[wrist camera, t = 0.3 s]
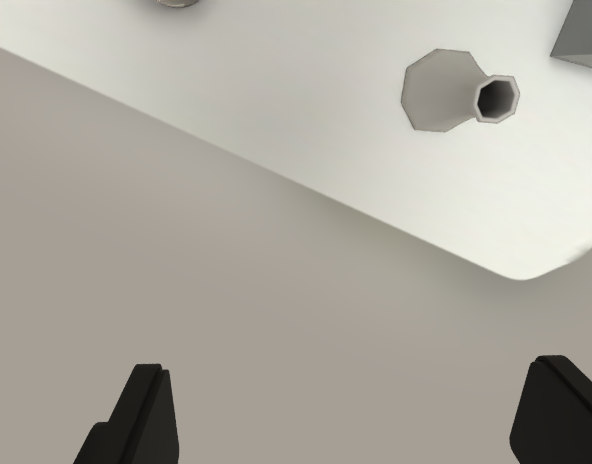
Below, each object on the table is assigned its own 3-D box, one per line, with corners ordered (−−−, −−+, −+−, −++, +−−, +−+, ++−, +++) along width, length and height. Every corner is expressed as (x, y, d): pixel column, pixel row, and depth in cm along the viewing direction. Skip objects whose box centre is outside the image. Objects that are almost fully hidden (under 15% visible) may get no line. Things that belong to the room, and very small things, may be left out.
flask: (477, 37, 34) (551, 26, 25) (482, 121, 37) (550, 139, 28) (394, 59, 35) (437, 56, 25) (405, 141, 37) (448, 165, 28)
